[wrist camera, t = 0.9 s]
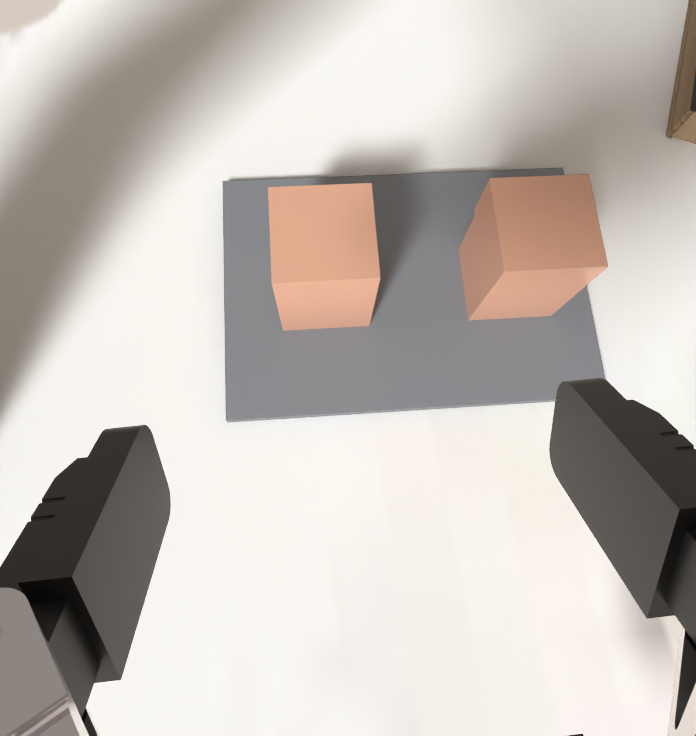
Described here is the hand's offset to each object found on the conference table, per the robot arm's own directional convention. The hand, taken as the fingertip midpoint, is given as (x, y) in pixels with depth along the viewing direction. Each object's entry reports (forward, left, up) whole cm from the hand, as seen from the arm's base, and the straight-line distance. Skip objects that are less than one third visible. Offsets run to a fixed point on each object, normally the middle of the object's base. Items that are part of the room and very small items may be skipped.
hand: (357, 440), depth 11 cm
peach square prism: (0, +14, -25) cm, 28 cm away
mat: (+6, +14, -25) cm, 30 cm away
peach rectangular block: (+13, +14, -25) cm, 31 cm away
